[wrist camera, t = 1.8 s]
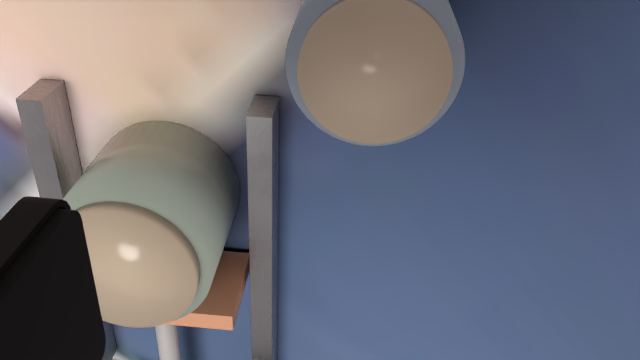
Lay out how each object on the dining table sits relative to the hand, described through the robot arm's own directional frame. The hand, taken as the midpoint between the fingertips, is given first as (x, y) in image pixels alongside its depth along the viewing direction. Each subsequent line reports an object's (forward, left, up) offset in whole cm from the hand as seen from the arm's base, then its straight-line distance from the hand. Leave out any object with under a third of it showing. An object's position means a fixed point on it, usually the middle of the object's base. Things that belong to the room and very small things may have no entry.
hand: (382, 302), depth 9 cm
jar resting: (+9, -9, -16) cm, 20 cm away
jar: (0, 0, -16) cm, 16 cm away
